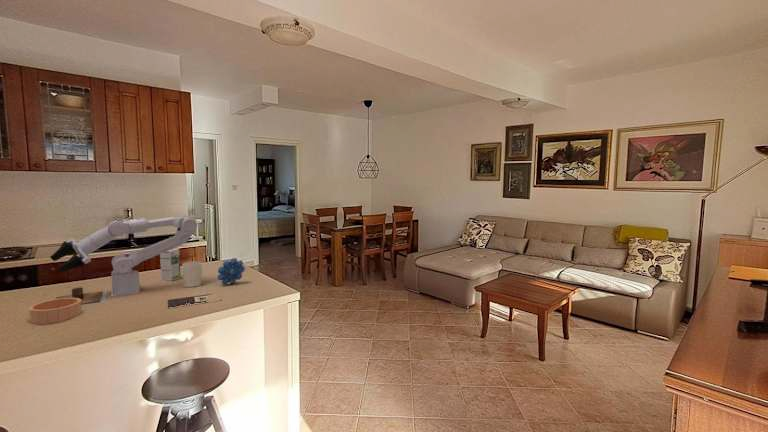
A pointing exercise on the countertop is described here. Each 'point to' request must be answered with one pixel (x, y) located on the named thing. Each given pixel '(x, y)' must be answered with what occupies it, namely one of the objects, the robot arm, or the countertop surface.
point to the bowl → (55, 310)
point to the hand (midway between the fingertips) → (55, 264)
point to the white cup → (192, 273)
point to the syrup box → (170, 265)
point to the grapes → (231, 271)
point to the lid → (84, 296)
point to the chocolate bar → (187, 300)
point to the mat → (98, 302)
